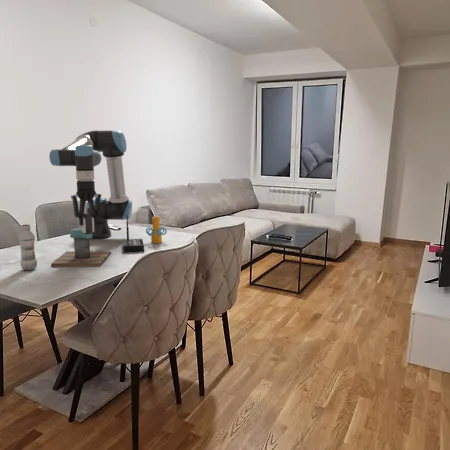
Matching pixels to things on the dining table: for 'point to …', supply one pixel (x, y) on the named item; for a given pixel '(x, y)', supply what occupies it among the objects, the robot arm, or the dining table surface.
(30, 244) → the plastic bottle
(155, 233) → the cylinder
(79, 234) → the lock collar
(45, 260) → the dining table surface
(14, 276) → the dining table surface
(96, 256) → the base
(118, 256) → the dining table surface
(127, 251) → the wireless controller
